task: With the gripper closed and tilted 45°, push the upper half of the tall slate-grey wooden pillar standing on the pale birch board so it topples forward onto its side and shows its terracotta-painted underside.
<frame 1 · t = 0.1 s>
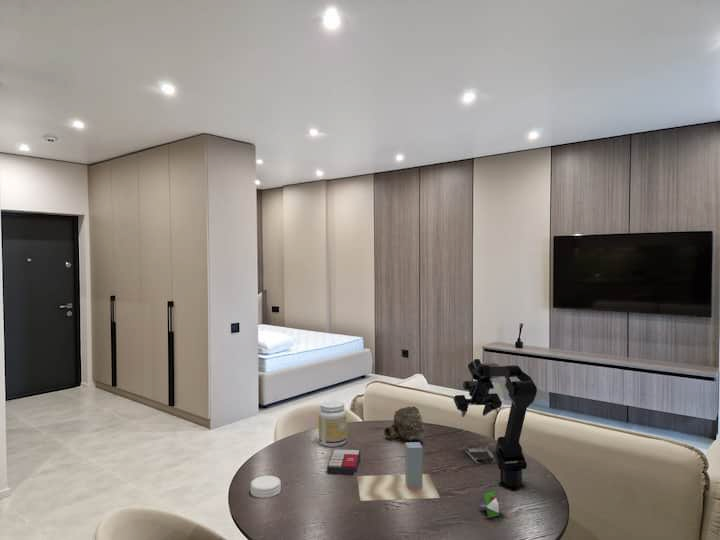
hand: (473, 415, 192), 15 cm above the table, tool tilted 35°, fingers open, 9 cm apart
supplement tub: (332, 443, 202), on the table
board: (396, 489, 159), on the table
pillar: (413, 485, 159), point 1 cm above the table, touching board
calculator: (344, 467, 178), on the table
geometric puzzle: (491, 515, 142), on the table
white puck: (265, 492, 158), on the table
rock: (402, 439, 207), on the table
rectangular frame: (480, 458, 186), on the table
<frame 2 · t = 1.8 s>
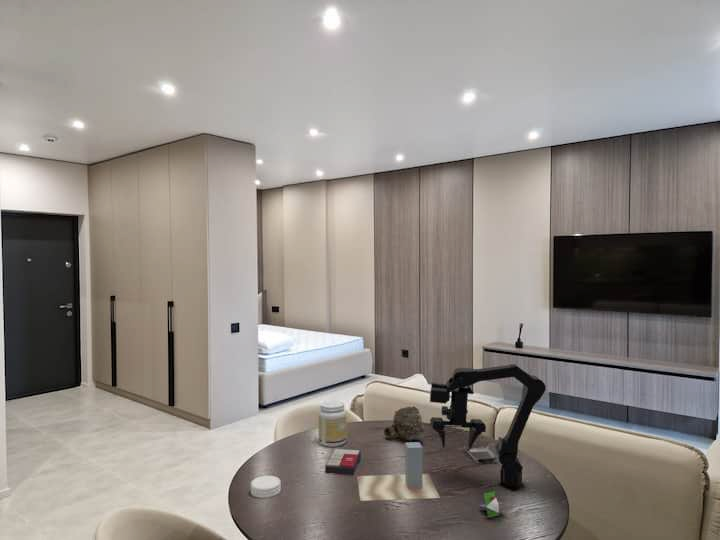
hand: (456, 448, 164), 12 cm above the table, tool pointing down, fingers open, 9 cm apart
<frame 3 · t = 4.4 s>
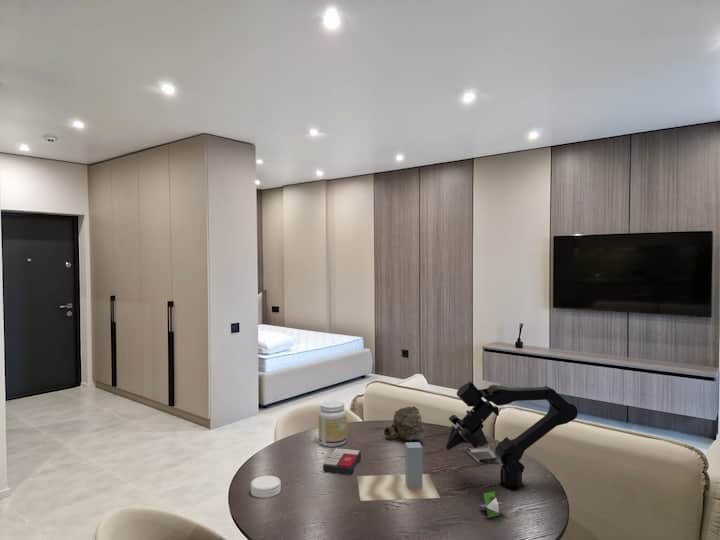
hand: (446, 448, 160), 13 cm above the table, tool tilted 45°, fingers closed
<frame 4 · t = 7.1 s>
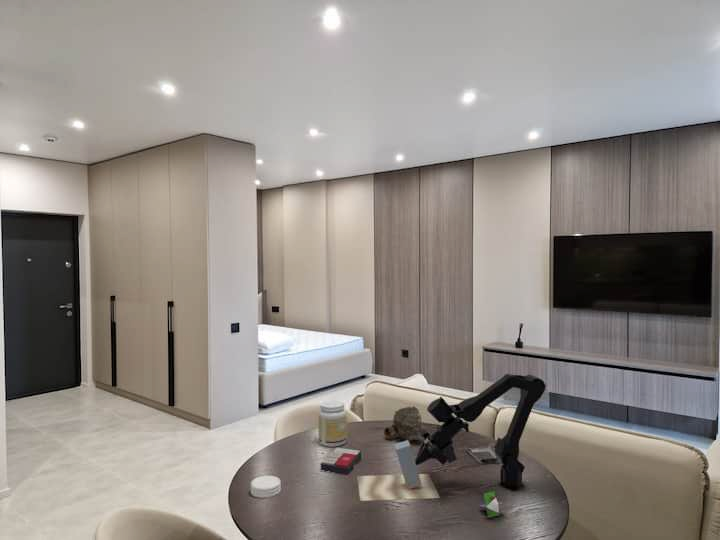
hand: (415, 463, 159), 8 cm above the table, tool tilted 45°, fingers closed, pressing on pillar
pillar: (413, 483, 159), point 2 cm above the table, tilted 16°, touching board, gripper
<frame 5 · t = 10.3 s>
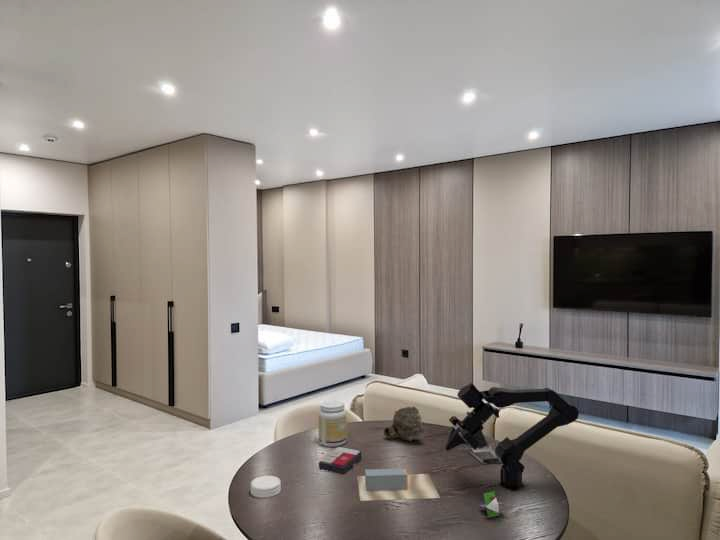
hand: (446, 449, 160), 13 cm above the table, tool tilted 45°, fingers closed
pillar: (406, 478, 159), point 3 cm above the table, tilted 90°, touching board
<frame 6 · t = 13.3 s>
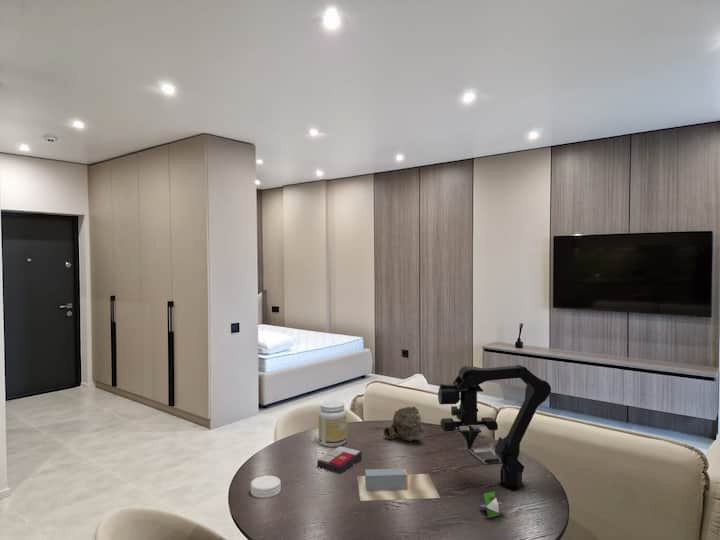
hand: (468, 448, 161), 13 cm above the table, tool pointing down, fingers closed
at the end: pillar tilted 90°; pillar 3.4 cm from the board (horizontally); pillar touching board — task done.
